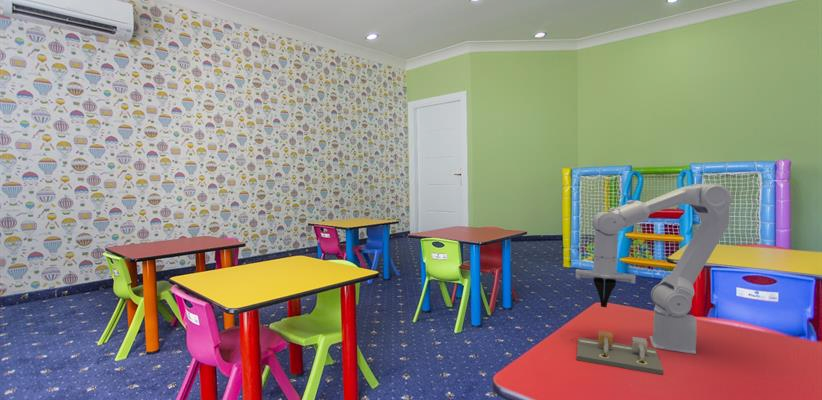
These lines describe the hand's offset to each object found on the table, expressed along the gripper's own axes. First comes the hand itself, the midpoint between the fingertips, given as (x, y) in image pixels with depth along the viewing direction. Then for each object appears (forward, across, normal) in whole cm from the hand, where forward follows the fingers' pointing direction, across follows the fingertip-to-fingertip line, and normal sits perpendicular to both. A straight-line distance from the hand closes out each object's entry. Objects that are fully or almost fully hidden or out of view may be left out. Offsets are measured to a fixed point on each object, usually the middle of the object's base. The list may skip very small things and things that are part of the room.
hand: (603, 306), depth 112 cm
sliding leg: (+8, 0, -10) cm, 13 cm away
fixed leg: (+8, +8, -10) cm, 15 cm away
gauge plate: (+9, +3, -10) cm, 14 cm away
